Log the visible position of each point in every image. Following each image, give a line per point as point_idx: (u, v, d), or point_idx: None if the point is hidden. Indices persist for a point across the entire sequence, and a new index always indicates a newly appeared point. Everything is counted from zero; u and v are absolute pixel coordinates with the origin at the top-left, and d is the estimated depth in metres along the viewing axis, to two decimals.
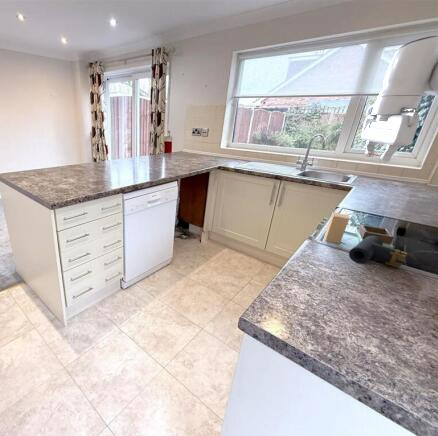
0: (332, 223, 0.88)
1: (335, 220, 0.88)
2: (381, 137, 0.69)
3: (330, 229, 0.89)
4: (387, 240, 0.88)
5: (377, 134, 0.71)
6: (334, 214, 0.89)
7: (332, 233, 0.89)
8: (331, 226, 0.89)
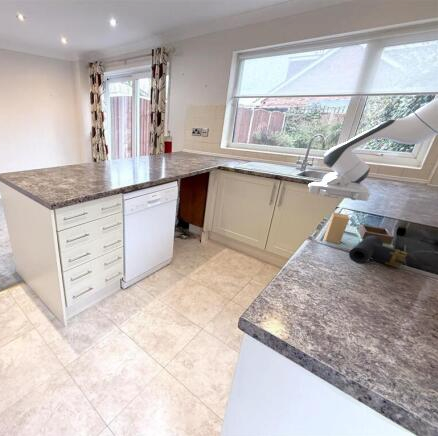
0: (332, 223, 0.88)
1: (335, 220, 0.88)
2: None
3: (330, 229, 0.89)
4: (387, 240, 0.88)
5: None
6: (334, 214, 0.89)
7: (332, 233, 0.89)
8: (331, 226, 0.89)
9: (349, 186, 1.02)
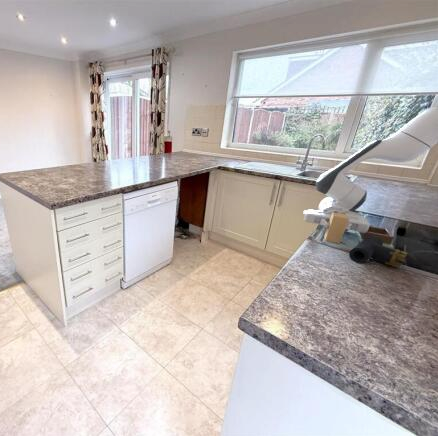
0: (332, 223, 0.88)
1: (335, 220, 0.88)
2: None
3: (330, 229, 0.89)
4: (387, 240, 0.88)
5: None
6: (334, 214, 0.89)
7: (332, 233, 0.89)
8: (331, 226, 0.89)
9: None
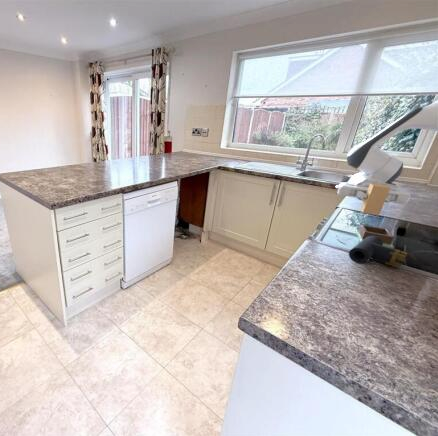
0: (371, 193, 0.84)
1: (375, 190, 0.84)
2: None
3: (369, 200, 0.85)
4: (387, 240, 0.88)
5: None
6: (373, 184, 0.85)
7: (371, 204, 0.86)
8: (370, 197, 0.85)
9: None
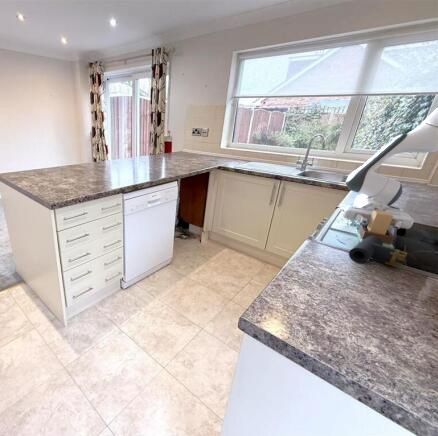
0: (375, 220, 0.89)
1: (378, 217, 0.88)
2: None
3: (372, 226, 0.90)
4: (387, 240, 0.88)
5: None
6: (376, 211, 0.90)
7: (374, 230, 0.90)
8: (374, 223, 0.90)
9: None
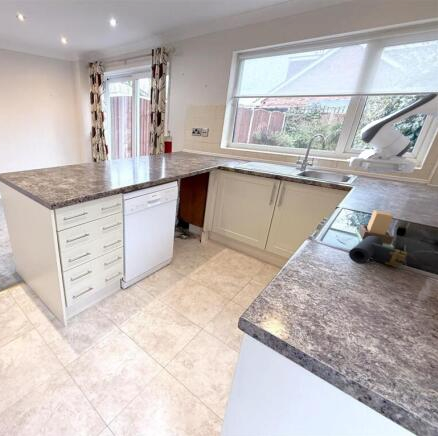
0: (375, 220, 0.89)
1: (378, 217, 0.88)
2: (370, 168, 1.03)
3: (372, 226, 0.90)
4: (387, 240, 0.88)
5: None
6: (376, 211, 0.90)
7: (374, 230, 0.90)
8: (374, 223, 0.90)
9: (392, 159, 1.02)
